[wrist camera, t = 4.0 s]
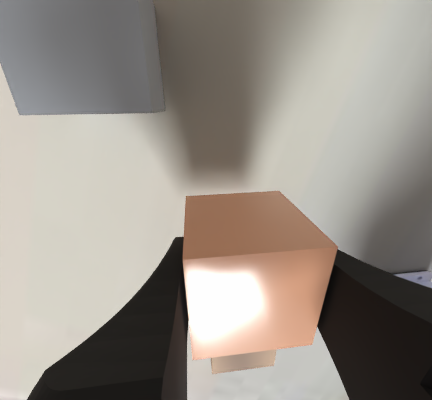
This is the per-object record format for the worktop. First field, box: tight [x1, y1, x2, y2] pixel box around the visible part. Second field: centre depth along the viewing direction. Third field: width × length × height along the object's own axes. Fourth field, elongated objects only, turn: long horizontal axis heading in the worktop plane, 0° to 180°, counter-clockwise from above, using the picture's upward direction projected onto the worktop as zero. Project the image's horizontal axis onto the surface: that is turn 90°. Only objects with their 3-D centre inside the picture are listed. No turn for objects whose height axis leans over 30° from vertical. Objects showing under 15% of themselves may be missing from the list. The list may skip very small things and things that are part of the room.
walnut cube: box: [211, 349, 277, 374], centre depth 18 cm, size 5×5×5 cm
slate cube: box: [0, 0, 165, 115], centre depth 10 cm, size 5×5×5 cm
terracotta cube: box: [183, 191, 338, 360], centre depth 10 cm, size 5×5×5 cm
